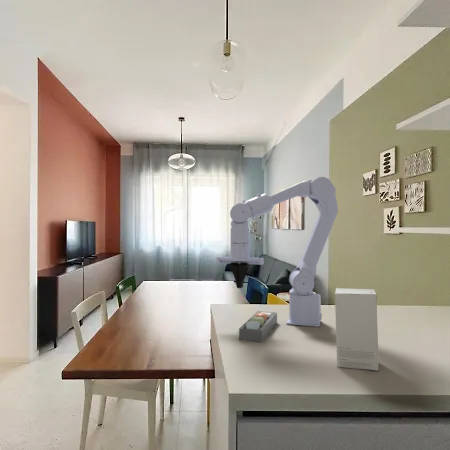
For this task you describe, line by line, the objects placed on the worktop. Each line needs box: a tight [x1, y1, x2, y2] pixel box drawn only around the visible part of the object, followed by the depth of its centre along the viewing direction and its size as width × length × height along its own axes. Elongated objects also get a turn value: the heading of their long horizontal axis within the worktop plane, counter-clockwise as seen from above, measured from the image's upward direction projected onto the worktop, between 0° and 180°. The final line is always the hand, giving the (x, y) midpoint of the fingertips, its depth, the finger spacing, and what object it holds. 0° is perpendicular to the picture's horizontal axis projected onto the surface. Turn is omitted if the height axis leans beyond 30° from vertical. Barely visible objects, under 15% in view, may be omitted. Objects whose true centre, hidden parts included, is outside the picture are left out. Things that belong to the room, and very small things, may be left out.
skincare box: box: [334, 287, 380, 372], centre depth 75 cm, size 8×7×16 cm
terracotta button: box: [254, 312, 268, 321], centre depth 102 cm, size 4×4×3 cm
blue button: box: [245, 321, 260, 330], centre depth 93 cm, size 4×4×3 cm
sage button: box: [250, 316, 264, 325], centre depth 97 cm, size 4×4×3 cm
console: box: [238, 310, 278, 343], centre depth 100 cm, size 6×20×3 cm, turn 161°
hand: (239, 287), depth 110 cm, fingers closed
